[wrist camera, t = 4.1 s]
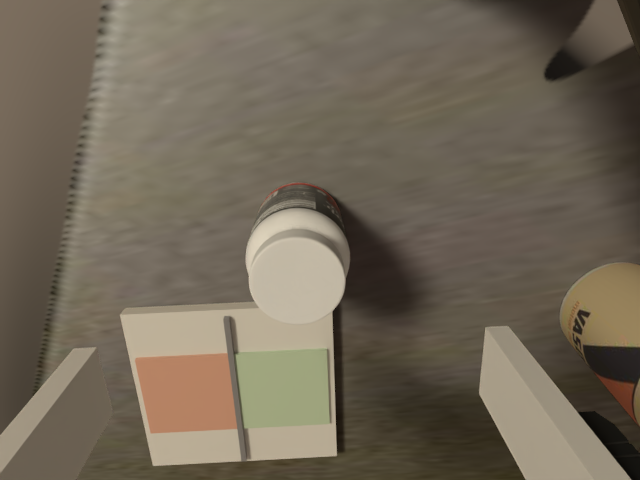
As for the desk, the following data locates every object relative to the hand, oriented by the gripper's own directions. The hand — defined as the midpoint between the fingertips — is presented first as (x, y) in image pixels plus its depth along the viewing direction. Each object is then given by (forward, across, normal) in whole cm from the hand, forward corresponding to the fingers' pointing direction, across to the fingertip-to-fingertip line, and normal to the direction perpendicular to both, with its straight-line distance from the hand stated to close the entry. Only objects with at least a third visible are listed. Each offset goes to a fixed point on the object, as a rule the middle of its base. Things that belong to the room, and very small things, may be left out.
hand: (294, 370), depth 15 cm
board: (+16, -6, -13) cm, 22 cm away
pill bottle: (+17, 0, 0) cm, 17 cm away
